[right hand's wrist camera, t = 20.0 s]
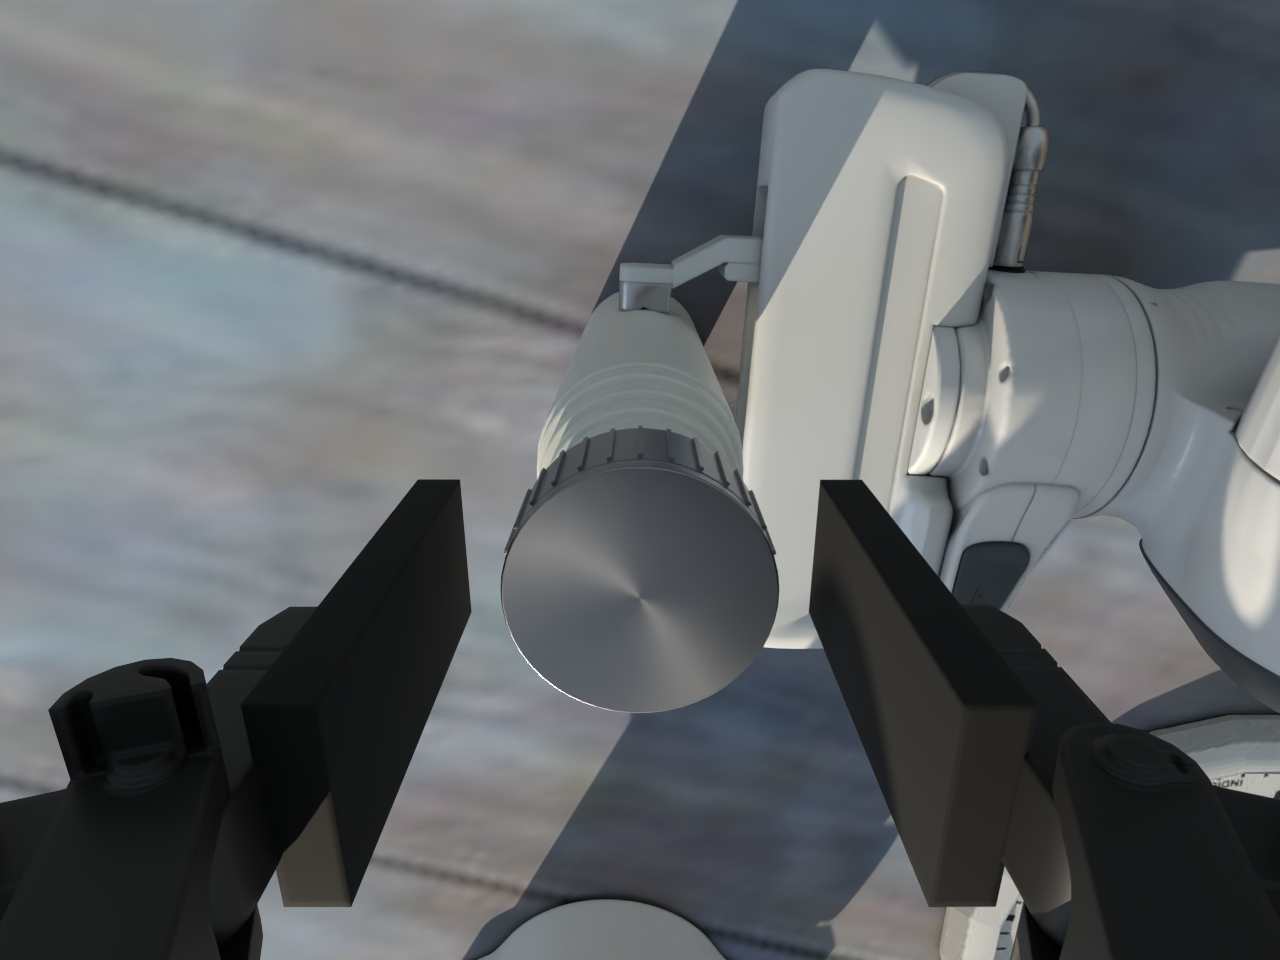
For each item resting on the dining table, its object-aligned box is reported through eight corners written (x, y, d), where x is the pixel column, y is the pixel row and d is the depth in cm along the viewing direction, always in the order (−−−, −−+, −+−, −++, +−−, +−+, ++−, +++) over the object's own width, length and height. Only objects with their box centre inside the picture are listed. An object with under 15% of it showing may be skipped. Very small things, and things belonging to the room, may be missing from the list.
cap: (516, 641, 15) (496, 710, 13) (517, 416, 14) (496, 454, 12) (748, 653, 15) (765, 723, 13) (776, 430, 14) (801, 472, 12)
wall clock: (1489, 654, 37) (1503, 1046, 46) (1455, 636, 38) (1476, 1019, 48) (886, 840, 41) (1014, 1166, 50) (878, 816, 42) (1003, 1137, 52)
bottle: (714, 309, 33) (837, 496, 12) (674, 416, 35) (724, 736, 14) (603, 270, 32) (539, 397, 12) (568, 380, 34) (458, 660, 13)
